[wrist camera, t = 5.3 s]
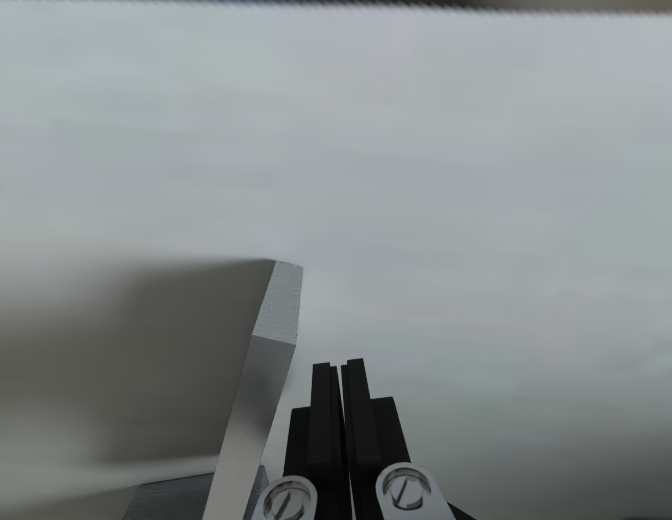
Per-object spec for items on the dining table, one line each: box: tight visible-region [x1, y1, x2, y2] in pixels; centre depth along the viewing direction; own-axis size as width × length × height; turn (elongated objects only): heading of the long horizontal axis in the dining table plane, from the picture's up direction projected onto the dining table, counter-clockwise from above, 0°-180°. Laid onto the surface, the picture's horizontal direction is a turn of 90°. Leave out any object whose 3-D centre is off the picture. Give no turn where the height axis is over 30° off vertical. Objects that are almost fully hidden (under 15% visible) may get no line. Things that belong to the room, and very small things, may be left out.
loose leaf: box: [202, 261, 303, 520], centre depth 12 cm, size 1×9×6 cm, turn 163°
